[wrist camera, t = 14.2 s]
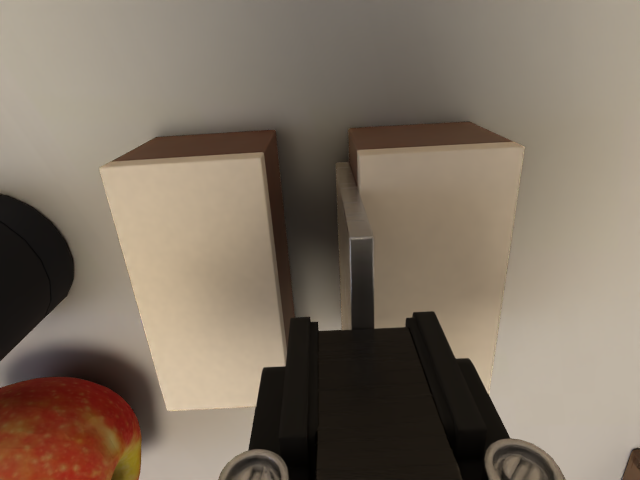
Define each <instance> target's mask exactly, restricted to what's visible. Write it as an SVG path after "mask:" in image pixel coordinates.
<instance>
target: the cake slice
mask: <svg viewBox="0 0 640 480" xmlns="http://www.w3.org/2000/svg"><path fill="white" fill-rule="evenodd" d="M348 144H349V162H350V165H351V168H352V171H353V174H354V177H355V180H356V183H357V186H358V189H359V192H360V195H361V198H362V202H363V205H364V208H365V211H366V214H367V217H368V220H369V223H370V226H371V229H372V232H373V236H374V328H395V327H405V323H406V318H411V317H412V315H413V313H414V312H427V311H434V312H435V314H436V316H437V318H438V320H439V323H440V325H441V327H442V329H443V332H444V334H445V336H446V338H447V341H448V343H449V345H450V347H451V349H452V352H453V354H454V356H455V358H456V359H458V358H469V359H470V360H471V361H472V363H473V364H474V366H475V368H476V370H477V372H478V375H479V377H480V379H481V381H482V383H483V385H484V387H485V389H486V391H487V393H488V395H489V390H490V383H491V376H492V369H493V362H494V356H495V349H496V342H497V335H498V328H499V321H500V315H501V308H502V301H503V294H504V287H505V280H506V274H507V267H508V260H509V253H510V246H511V239H512V233H513V226H514V219H515V212H516V205H517V198H518V192H519V185H520V178H521V171H522V164H523V157H524V150H525V147H524V146H522V145H520V144H518V143H516V142H513V141H511V140H509V139H506V138H504V137H502V136H500V135H498V134H496V133H493V132H491V131H489V130H487V129H485V128H483V127H480V126H478V125H476V124H474V123H472V122H450V123H432V124H413V125H395V126H376V127H358V128H349V129H348Z"/></svg>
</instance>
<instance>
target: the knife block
mask: <svg viewBox="0 0 640 480" xmlns="http://www.w3.org/2000/svg"><path fill="white" fill-rule="evenodd" d="M622 480H640V450H633V451H632V453H631V456H630V459H629V461H628V464H627V467H626V470H625V473H624V476H623V479H622Z"/></svg>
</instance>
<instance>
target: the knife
mask: <svg viewBox="0 0 640 480" xmlns="http://www.w3.org/2000/svg"><path fill="white" fill-rule="evenodd" d="M335 168H336V194H337V220H338V246H339V273H340V299H341V325H342V330H331V331H318V429H317V430H316V439H315V480H463V478H462V475H461V472H460V470H459V467H458V464H457V461H456V458H455V455H454V452H453V449H452V447H451V444H450V441H449V438H448V435H447V432H446V429H445V427H444V424H443V423H442V421H441V418H440V415H439V412H438V409H437V406H436V403H435V400H434V397H433V394H432V392H431V389H430V386H429V383H428V380H427V377H426V374H425V371H424V368H423V365H422V363H421V360H420V357H419V354H418V351H417V348H416V345H415V342H414V339H413V336H412V334H411V331H410V328H409V327H395V328H374V236H373V232H372V229H371V226H370V223H369V220H368V217H367V214H366V211H365V208H364V205H363V202H362V198H361V195H360V192H359V189H358V186H357V183H356V180H355V177H354V174H353V171H352V168H351V165H350V162H339V163H336V164H335Z"/></svg>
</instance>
